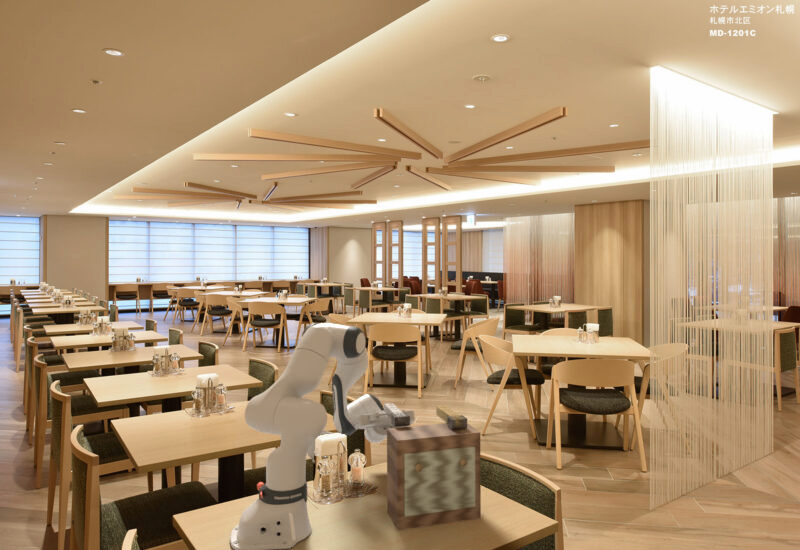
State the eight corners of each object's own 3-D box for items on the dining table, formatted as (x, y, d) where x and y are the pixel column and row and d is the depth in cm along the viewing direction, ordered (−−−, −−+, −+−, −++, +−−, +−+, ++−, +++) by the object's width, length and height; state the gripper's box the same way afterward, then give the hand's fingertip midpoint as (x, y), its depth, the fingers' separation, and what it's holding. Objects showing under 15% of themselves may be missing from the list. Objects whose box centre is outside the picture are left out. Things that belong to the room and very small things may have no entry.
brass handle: (452, 429, 162) (452, 420, 162) (433, 415, 178) (433, 406, 178) (467, 428, 163) (467, 418, 163) (447, 413, 179) (447, 405, 179)
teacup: (300, 454, 216) (300, 430, 216) (337, 455, 215) (336, 430, 215) (293, 466, 204) (292, 440, 204) (331, 466, 203) (331, 440, 203)
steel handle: (394, 427, 165) (394, 417, 165) (381, 412, 181) (381, 404, 181) (410, 425, 166) (410, 416, 166) (395, 411, 183) (395, 402, 183)
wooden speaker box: (399, 533, 151) (398, 442, 151) (387, 512, 165) (386, 428, 164) (483, 520, 159) (482, 434, 158) (465, 501, 172) (464, 421, 171)
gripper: (352, 417, 190) (359, 406, 179) (407, 412, 196) (417, 402, 184) (354, 435, 187) (361, 425, 176) (410, 429, 193) (420, 420, 181)
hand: (390, 413), depth 180 cm, fingers open, 8 cm apart
